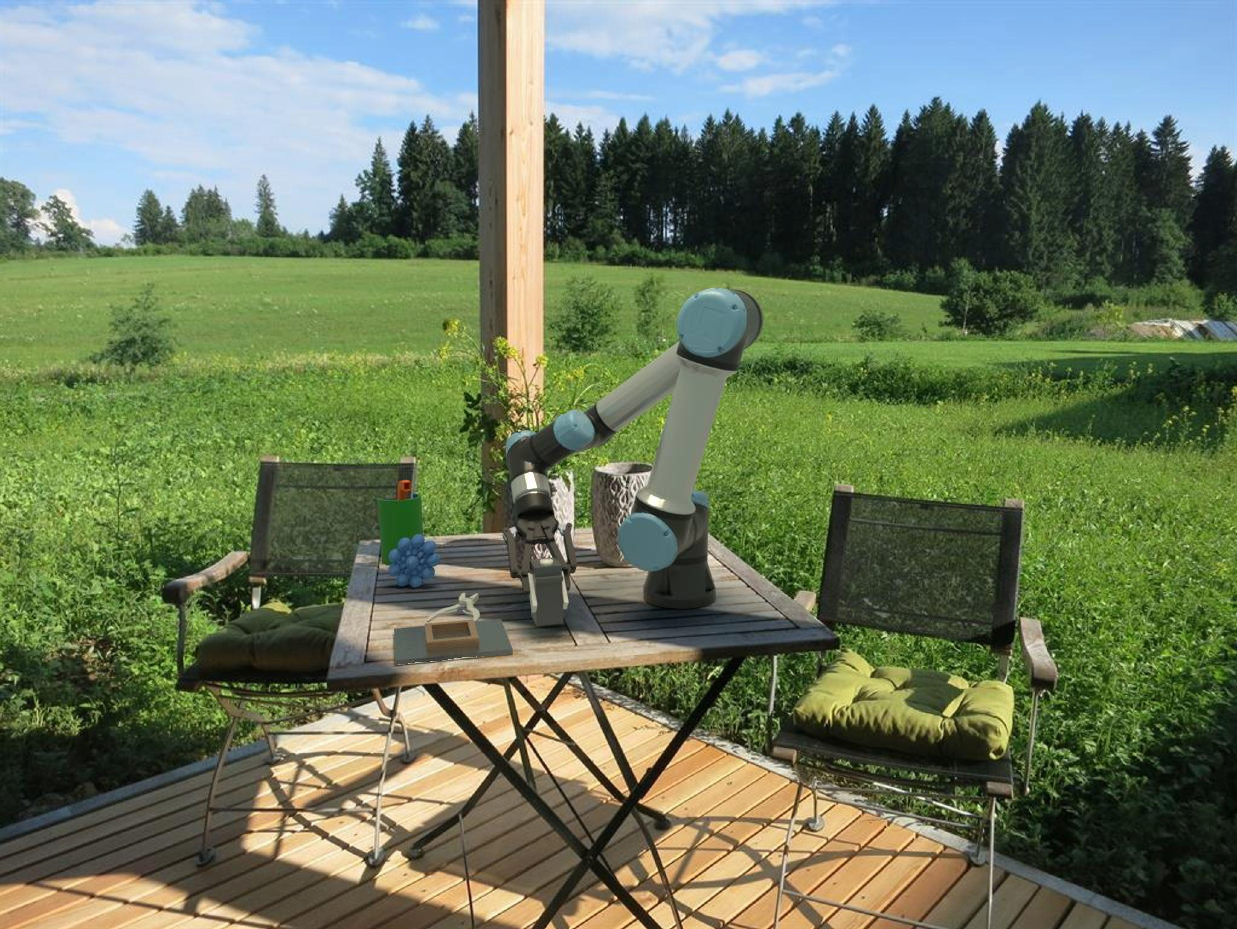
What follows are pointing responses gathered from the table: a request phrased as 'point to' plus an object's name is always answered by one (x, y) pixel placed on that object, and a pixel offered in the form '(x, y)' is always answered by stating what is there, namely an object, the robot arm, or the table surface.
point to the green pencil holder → (399, 519)
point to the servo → (547, 591)
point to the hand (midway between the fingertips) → (550, 607)
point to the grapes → (413, 561)
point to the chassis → (451, 641)
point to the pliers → (462, 603)
